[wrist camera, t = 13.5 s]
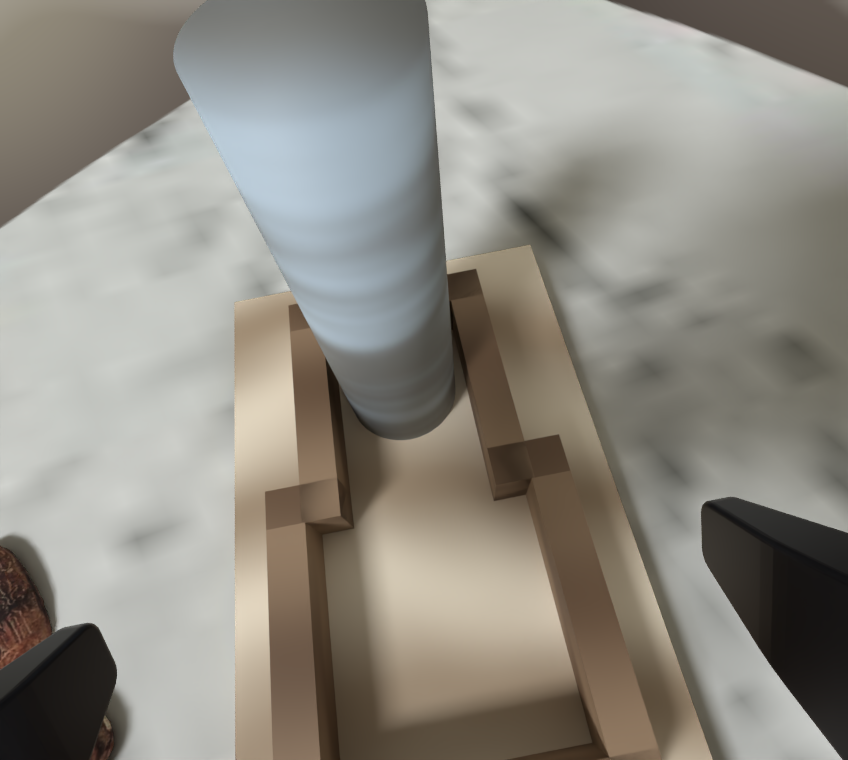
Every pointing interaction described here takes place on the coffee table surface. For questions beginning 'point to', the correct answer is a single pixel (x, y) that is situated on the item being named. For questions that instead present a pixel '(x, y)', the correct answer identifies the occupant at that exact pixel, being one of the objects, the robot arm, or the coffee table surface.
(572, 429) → the keyhole board
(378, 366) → the slate peg
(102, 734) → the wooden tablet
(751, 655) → the coffee table surface
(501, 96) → the coffee table surface
